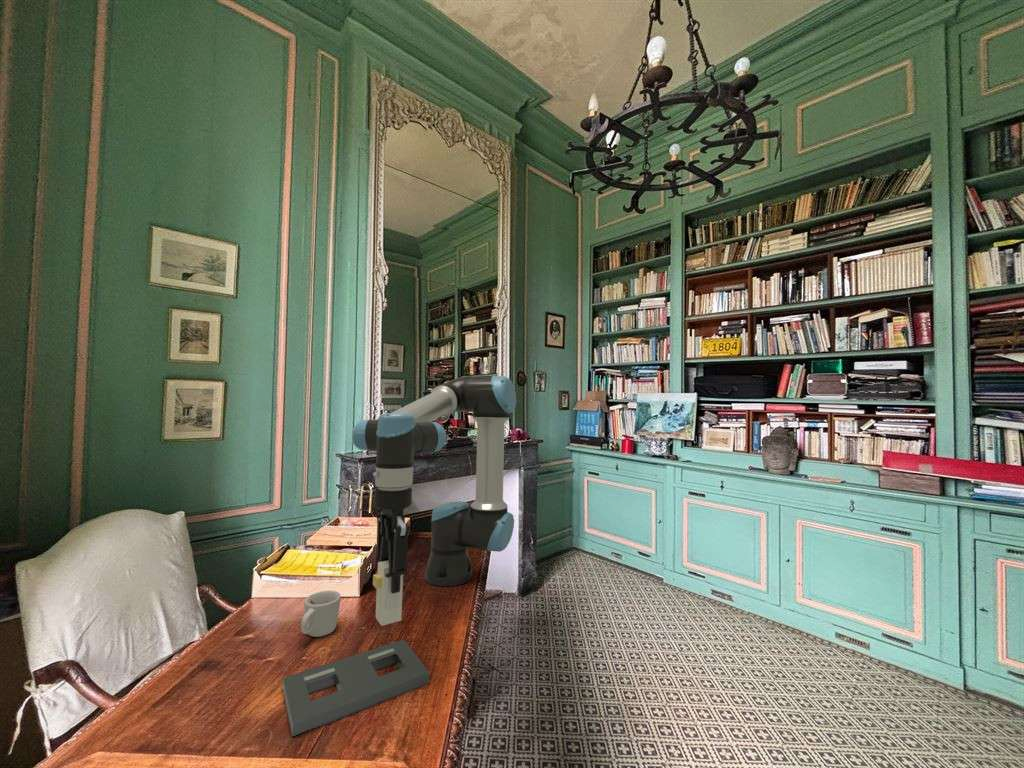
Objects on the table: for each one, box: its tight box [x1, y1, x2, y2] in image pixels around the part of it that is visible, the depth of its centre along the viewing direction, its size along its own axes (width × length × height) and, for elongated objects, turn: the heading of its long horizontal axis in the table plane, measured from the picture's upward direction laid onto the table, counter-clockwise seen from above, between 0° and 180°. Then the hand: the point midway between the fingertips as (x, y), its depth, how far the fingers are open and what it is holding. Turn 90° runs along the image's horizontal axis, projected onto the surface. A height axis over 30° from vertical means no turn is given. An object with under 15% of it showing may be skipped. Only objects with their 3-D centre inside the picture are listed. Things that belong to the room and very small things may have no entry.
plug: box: [372, 560, 404, 626], centre depth 83 cm, size 5×4×11 cm
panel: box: [282, 638, 430, 738], centre depth 80 cm, size 24×14×2 cm, turn 125°
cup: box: [300, 590, 342, 638], centre depth 97 cm, size 11×8×8 cm
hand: (389, 602), depth 84 cm, fingers closed on plug, 4 cm apart
